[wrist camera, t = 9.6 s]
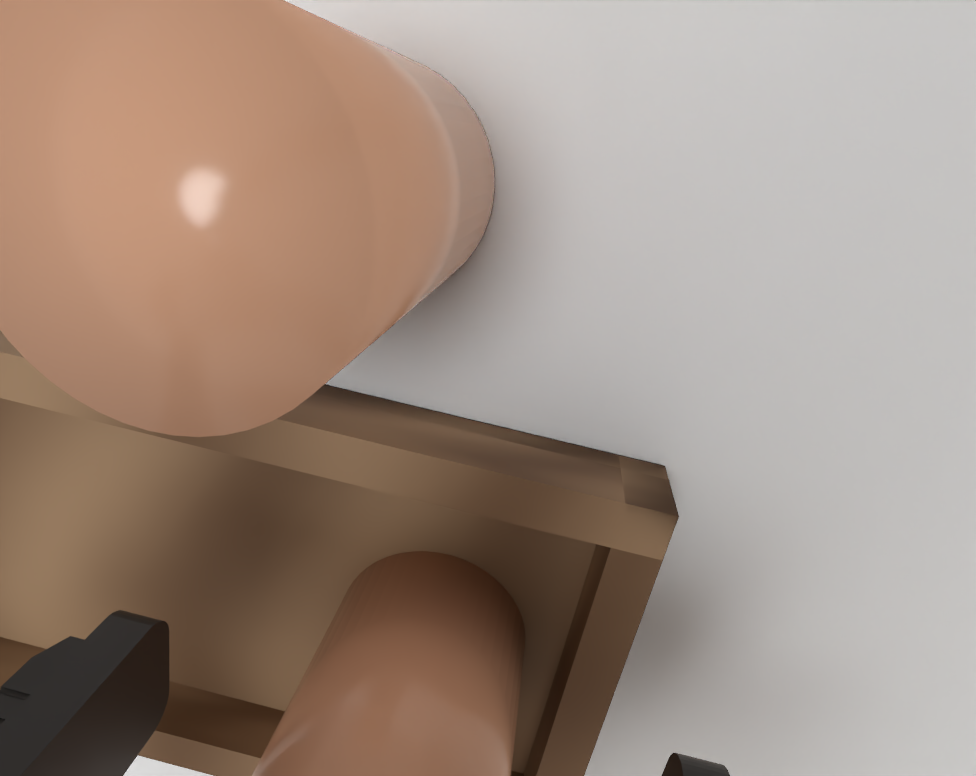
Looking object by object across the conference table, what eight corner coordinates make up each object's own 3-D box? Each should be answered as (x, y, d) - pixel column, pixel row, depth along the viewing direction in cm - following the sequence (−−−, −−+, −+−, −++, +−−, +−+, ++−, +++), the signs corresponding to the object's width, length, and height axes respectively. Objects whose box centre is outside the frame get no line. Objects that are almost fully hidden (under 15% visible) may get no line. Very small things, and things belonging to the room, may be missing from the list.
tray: (664, 466, 14) (678, 516, 12) (553, 789, 18) (551, 865, 16) (-128, 276, 15) (-229, 296, 13) (-76, 624, 18) (-150, 678, 17)
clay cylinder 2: (545, 580, 15) (518, 930, 8) (502, 723, 16) (451, 1110, 10) (354, 530, 15) (179, 834, 8) (330, 676, 16) (168, 1025, 10)
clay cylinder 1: (501, 58, 12) (374, -54, 5) (488, 305, 13) (376, 460, 7) (264, 49, 12) (-125, -63, 6) (278, 286, 14) (-13, 412, 7)
